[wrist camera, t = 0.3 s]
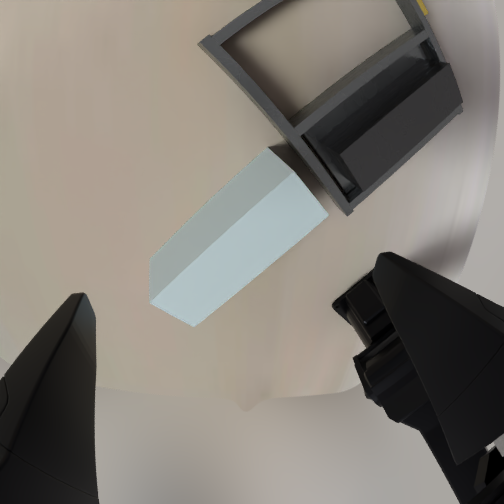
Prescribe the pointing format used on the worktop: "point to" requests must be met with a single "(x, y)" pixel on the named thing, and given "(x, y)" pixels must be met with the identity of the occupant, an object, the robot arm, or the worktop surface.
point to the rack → (361, 107)
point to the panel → (232, 239)
